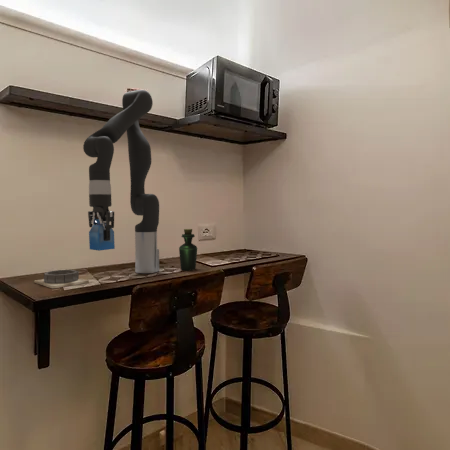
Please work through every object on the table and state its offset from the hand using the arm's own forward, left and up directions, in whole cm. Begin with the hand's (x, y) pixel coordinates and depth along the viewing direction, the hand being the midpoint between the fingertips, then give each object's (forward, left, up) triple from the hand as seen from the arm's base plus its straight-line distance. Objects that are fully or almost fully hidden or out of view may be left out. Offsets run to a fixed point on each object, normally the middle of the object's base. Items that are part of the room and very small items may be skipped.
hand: (101, 239), depth 128 cm
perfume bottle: (0, 0, -4) cm, 4 cm away
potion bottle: (-41, +2, -16) cm, 44 cm away
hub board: (+9, -12, -16) cm, 22 cm away
